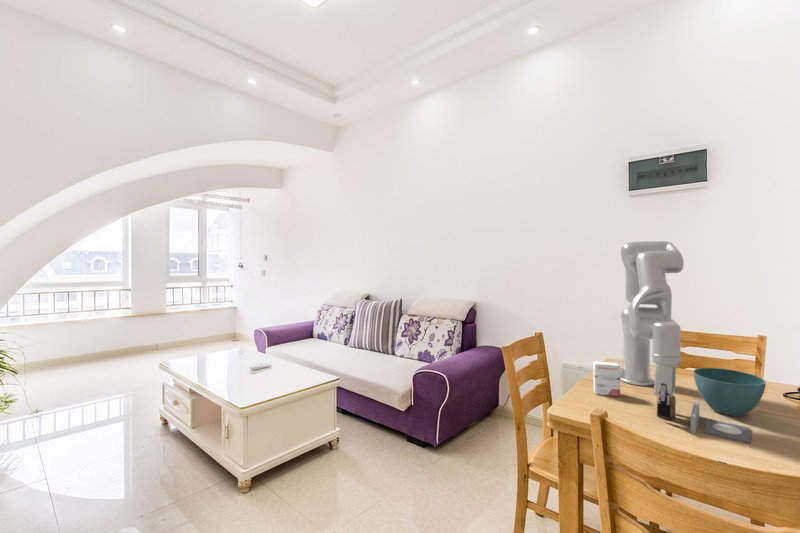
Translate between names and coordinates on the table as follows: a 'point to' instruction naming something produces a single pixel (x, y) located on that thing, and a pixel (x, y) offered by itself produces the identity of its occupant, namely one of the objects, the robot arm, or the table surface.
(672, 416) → the walnut block
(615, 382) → the ink box
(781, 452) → the table surface
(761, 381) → the teal bowl
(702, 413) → the table surface
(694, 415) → the divider wall
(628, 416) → the table surface
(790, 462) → the table surface
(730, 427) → the mat
